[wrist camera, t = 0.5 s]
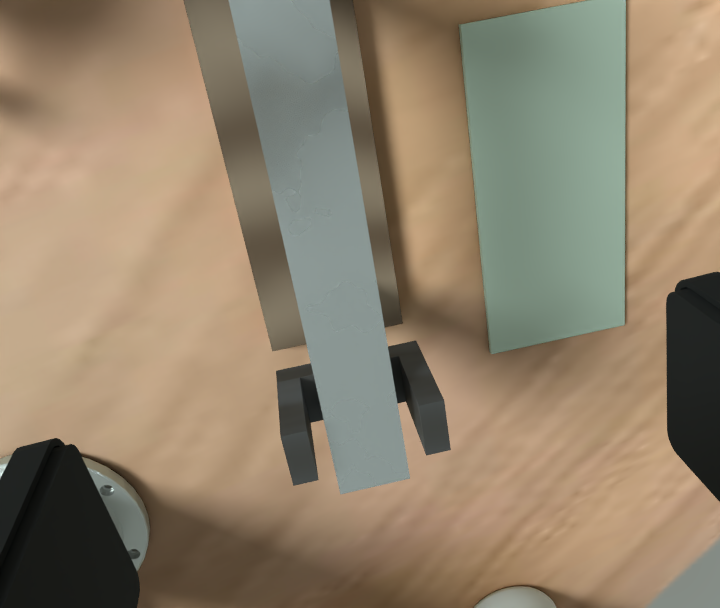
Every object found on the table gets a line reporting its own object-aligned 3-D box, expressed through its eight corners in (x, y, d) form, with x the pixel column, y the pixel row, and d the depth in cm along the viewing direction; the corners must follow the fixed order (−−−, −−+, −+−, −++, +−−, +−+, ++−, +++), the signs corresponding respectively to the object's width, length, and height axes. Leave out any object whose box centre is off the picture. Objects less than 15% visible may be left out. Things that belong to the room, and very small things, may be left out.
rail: (396, 436, 32) (410, 478, 29) (333, 451, 32) (340, 494, 29) (289, -182, 22) (294, -207, 19) (193, -166, 21) (186, -188, 19)
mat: (621, 322, 45) (624, 324, 45) (489, 351, 45) (491, 354, 45) (622, -7, 37) (625, -7, 36) (458, 24, 36) (460, 25, 36)
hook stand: (398, 314, 43) (473, 480, 28) (271, 341, 42) (283, 524, 28) (328, -135, 33) (390, -231, 18) (159, -106, 32) (85, -181, 18)
